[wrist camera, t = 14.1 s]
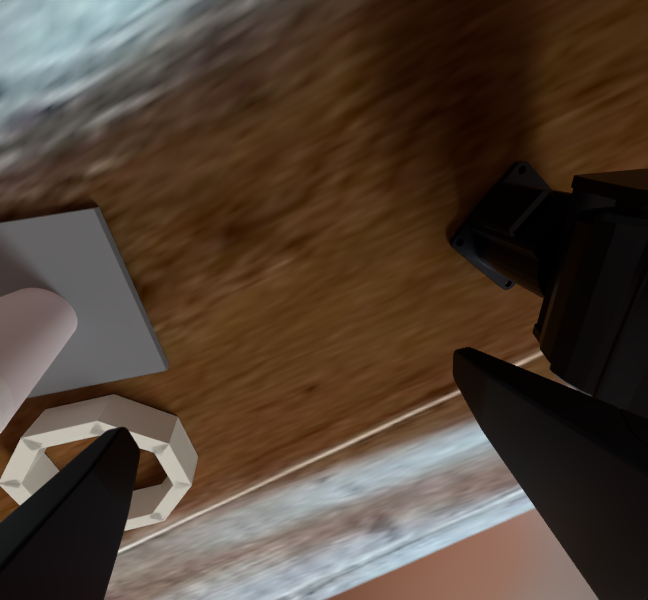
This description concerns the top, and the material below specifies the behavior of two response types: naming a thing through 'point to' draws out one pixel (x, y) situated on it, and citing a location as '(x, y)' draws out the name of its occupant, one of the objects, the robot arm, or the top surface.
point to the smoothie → (29, 342)
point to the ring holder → (93, 420)
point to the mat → (82, 297)
